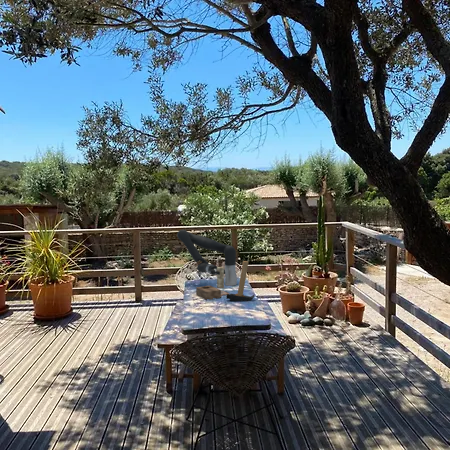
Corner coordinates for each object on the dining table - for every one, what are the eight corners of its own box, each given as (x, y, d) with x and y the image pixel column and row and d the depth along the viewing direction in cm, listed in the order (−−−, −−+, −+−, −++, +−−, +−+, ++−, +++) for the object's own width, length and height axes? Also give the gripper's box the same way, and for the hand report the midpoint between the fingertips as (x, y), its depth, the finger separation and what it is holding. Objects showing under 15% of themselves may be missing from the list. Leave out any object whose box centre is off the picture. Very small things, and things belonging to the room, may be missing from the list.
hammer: (252, 302, 316) (259, 263, 314) (253, 304, 311) (260, 264, 309) (226, 298, 315) (232, 258, 313) (226, 299, 310) (233, 259, 308)
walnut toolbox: (210, 293, 338) (210, 285, 338) (220, 297, 322) (220, 289, 322) (196, 295, 332) (196, 287, 332) (206, 300, 317) (206, 292, 316)
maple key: (221, 286, 337) (221, 266, 336) (223, 287, 334) (223, 267, 332) (217, 287, 335) (216, 267, 334) (219, 288, 332) (219, 268, 330)
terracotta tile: (221, 291, 342) (221, 290, 342) (229, 294, 332) (229, 293, 331) (213, 292, 338) (213, 291, 338) (220, 296, 328) (220, 294, 328)
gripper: (204, 265, 342) (213, 269, 327) (219, 264, 349) (230, 267, 334) (204, 275, 343) (213, 278, 328) (219, 273, 350) (230, 276, 335)
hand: (222, 273), depth 331 cm, fingers closed on maple key, 4 cm apart
